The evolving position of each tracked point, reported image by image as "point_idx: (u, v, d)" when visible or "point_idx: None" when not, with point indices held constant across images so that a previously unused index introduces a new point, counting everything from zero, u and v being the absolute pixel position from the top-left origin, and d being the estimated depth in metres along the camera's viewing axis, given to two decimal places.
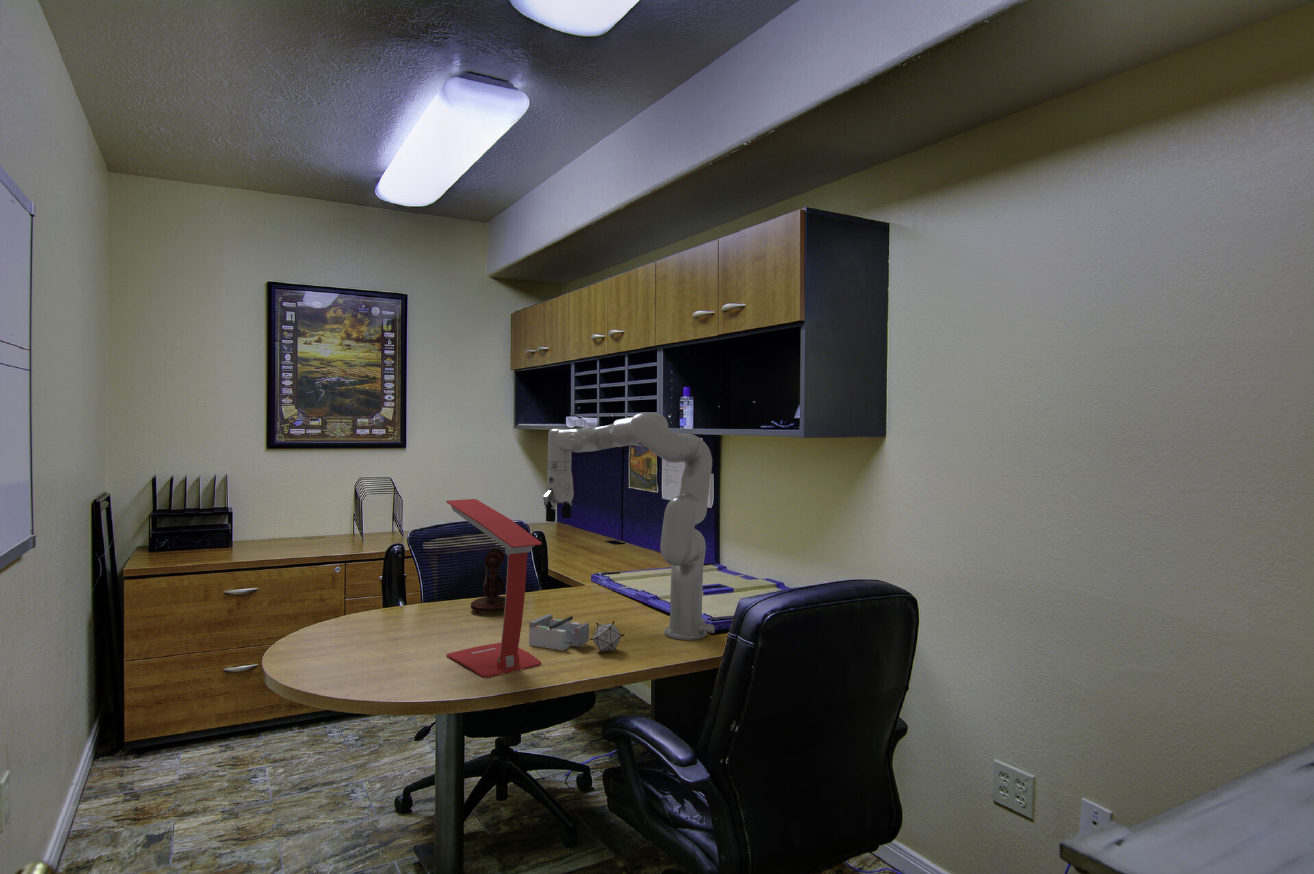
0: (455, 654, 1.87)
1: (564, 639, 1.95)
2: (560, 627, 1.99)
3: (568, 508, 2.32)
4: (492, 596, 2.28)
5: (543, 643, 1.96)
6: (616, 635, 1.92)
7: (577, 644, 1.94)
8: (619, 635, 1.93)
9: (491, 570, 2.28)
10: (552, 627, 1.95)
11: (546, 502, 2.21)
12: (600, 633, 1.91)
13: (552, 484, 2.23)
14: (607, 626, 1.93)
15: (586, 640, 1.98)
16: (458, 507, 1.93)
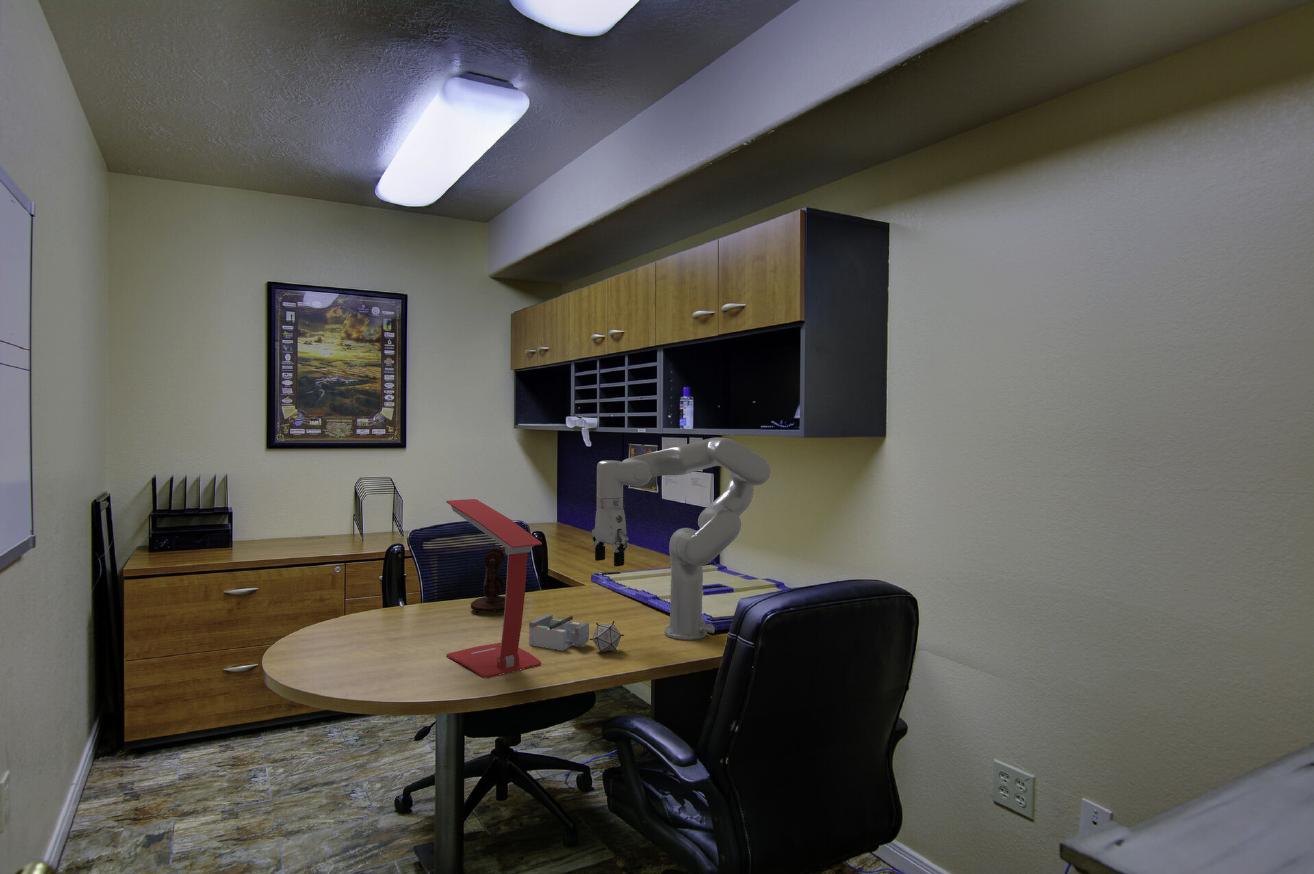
0: (455, 654, 1.87)
1: (564, 639, 1.95)
2: (560, 627, 1.99)
3: (603, 549, 2.07)
4: (492, 596, 2.28)
5: (543, 643, 1.96)
6: (616, 635, 1.92)
7: (577, 644, 1.94)
8: (619, 635, 1.93)
9: (491, 570, 2.28)
10: (552, 627, 1.95)
11: (625, 544, 1.97)
12: (600, 633, 1.91)
13: (620, 523, 1.99)
14: (607, 626, 1.93)
15: (586, 640, 1.98)
16: (458, 507, 1.93)
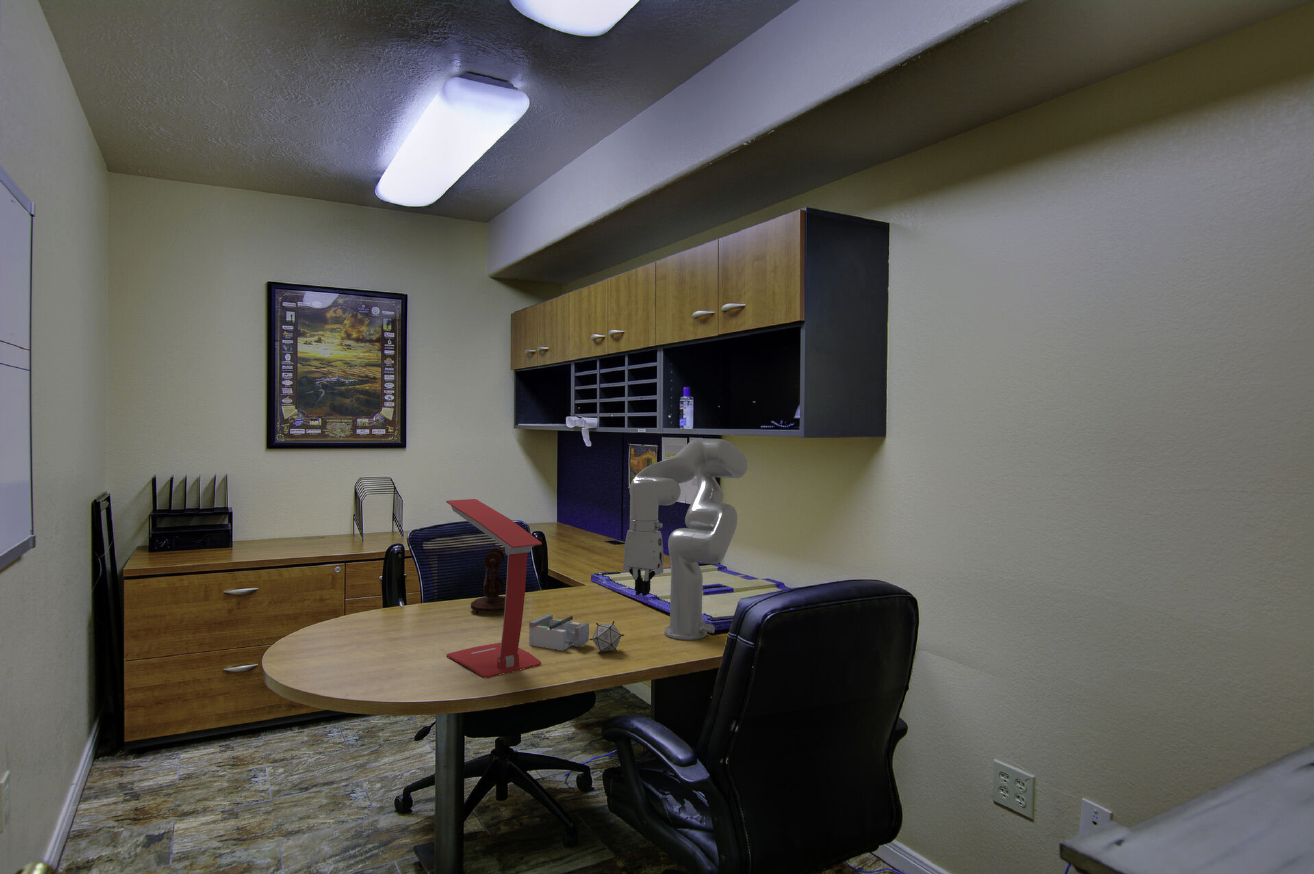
0: (455, 654, 1.87)
1: (564, 639, 1.95)
2: (560, 627, 1.99)
3: (642, 581, 1.90)
4: (492, 596, 2.28)
5: (543, 643, 1.96)
6: (616, 635, 1.92)
7: (577, 644, 1.94)
8: (619, 635, 1.93)
9: (491, 570, 2.28)
10: (552, 627, 1.95)
11: None
12: (600, 633, 1.91)
13: (661, 547, 1.88)
14: (607, 626, 1.93)
15: (586, 640, 1.98)
16: (458, 507, 1.93)
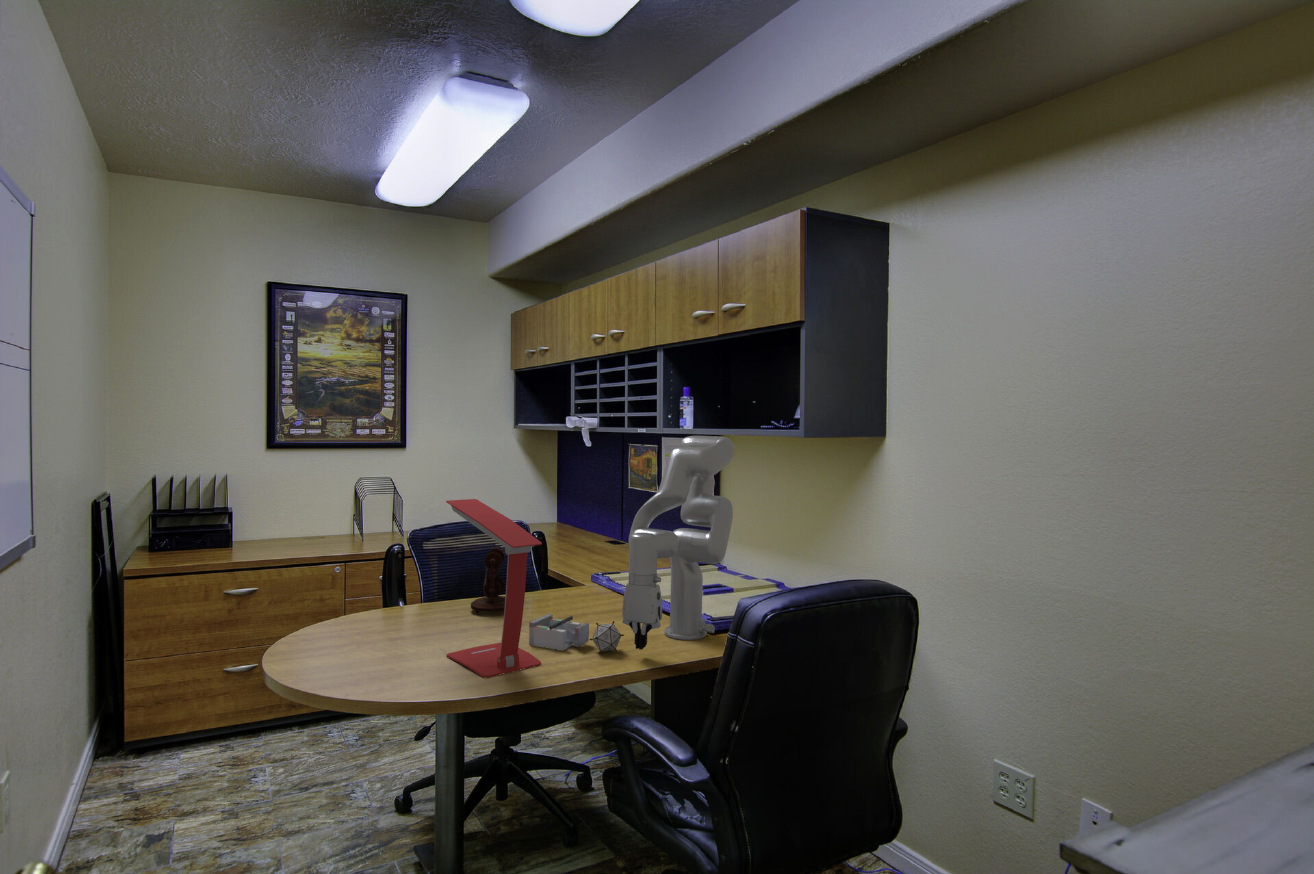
0: (455, 654, 1.87)
1: (564, 639, 1.95)
2: (560, 627, 1.99)
3: None
4: (492, 596, 2.28)
5: (543, 643, 1.96)
6: (616, 635, 1.92)
7: (577, 644, 1.94)
8: (619, 635, 1.93)
9: (491, 570, 2.28)
10: (552, 627, 1.95)
11: None
12: (600, 633, 1.91)
13: (659, 601, 1.88)
14: (607, 626, 1.93)
15: (586, 640, 1.98)
16: (458, 507, 1.93)
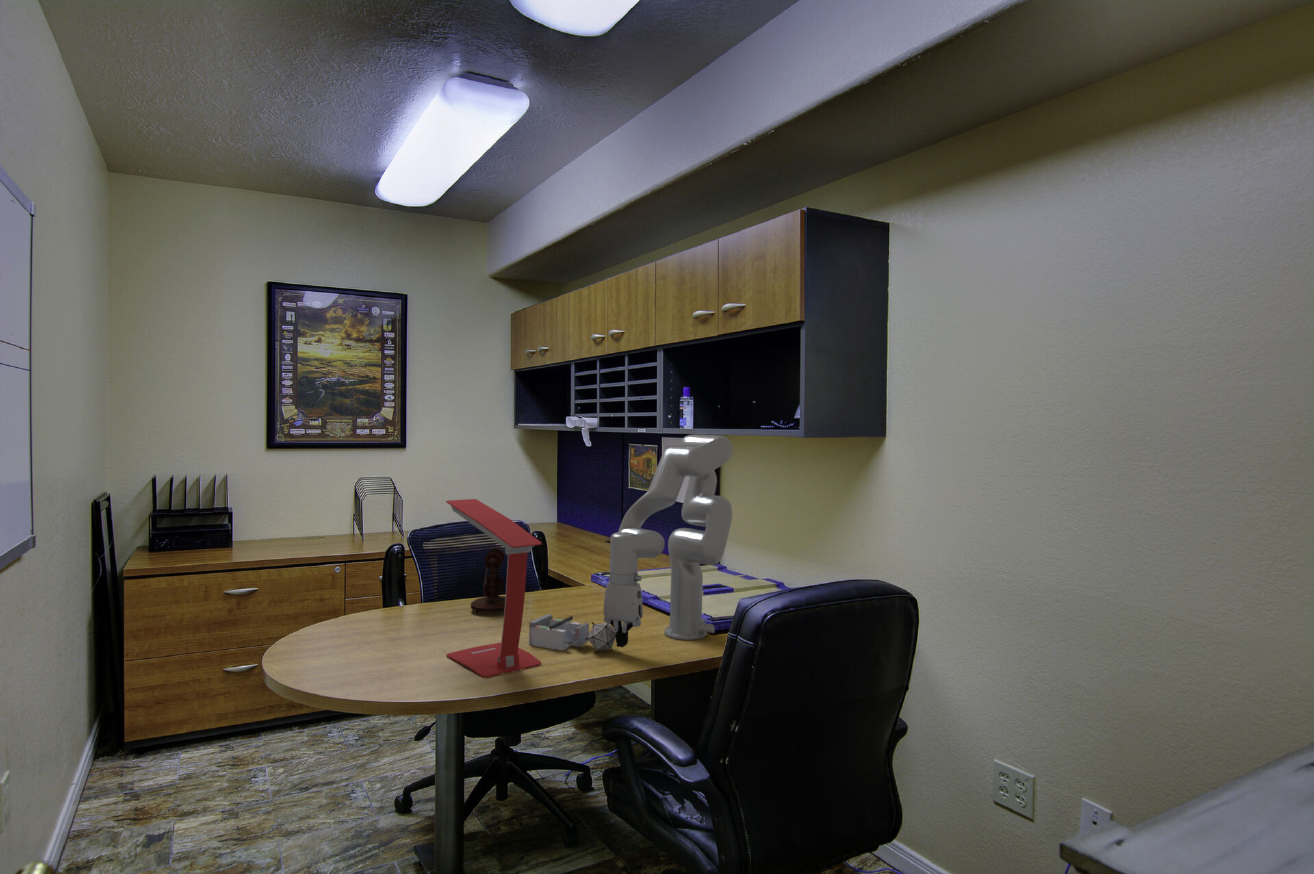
0: (455, 654, 1.87)
1: (564, 639, 1.95)
2: (560, 627, 1.99)
3: None
4: (492, 596, 2.28)
5: (543, 643, 1.96)
6: (612, 634, 1.93)
7: (577, 644, 1.94)
8: (615, 634, 1.94)
9: (491, 570, 2.28)
10: (552, 627, 1.95)
11: None
12: (596, 632, 1.92)
13: (640, 599, 1.90)
14: (603, 625, 1.93)
15: (586, 640, 1.98)
16: (458, 507, 1.93)
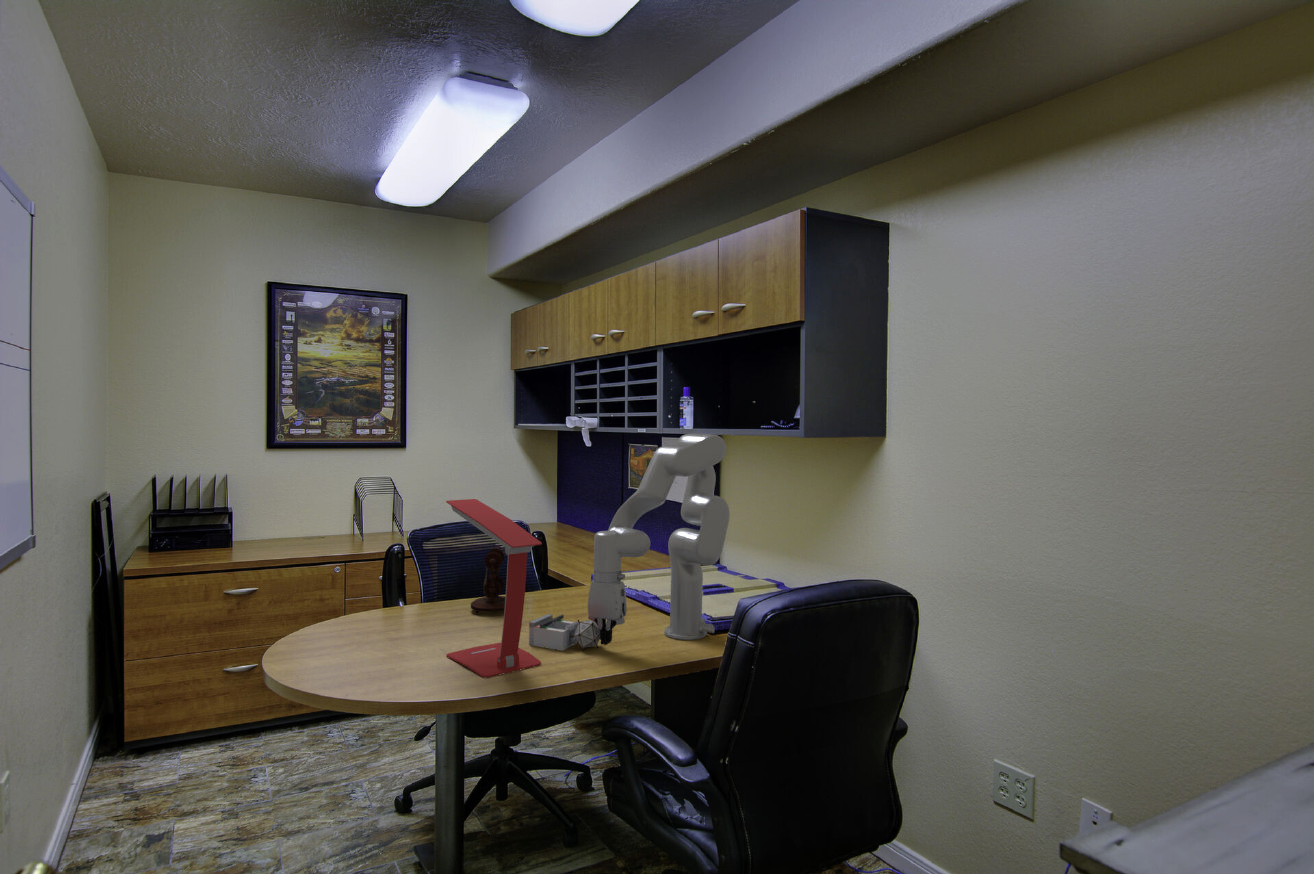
0: (455, 654, 1.87)
1: (564, 639, 1.95)
2: (551, 626, 2.01)
3: None
4: (492, 596, 2.28)
5: (543, 643, 1.96)
6: (598, 631, 1.95)
7: (567, 642, 1.95)
8: None
9: (491, 570, 2.28)
10: (542, 625, 1.96)
11: None
12: (582, 630, 1.94)
13: (623, 597, 1.92)
14: (589, 623, 1.96)
15: None
16: (458, 507, 1.93)
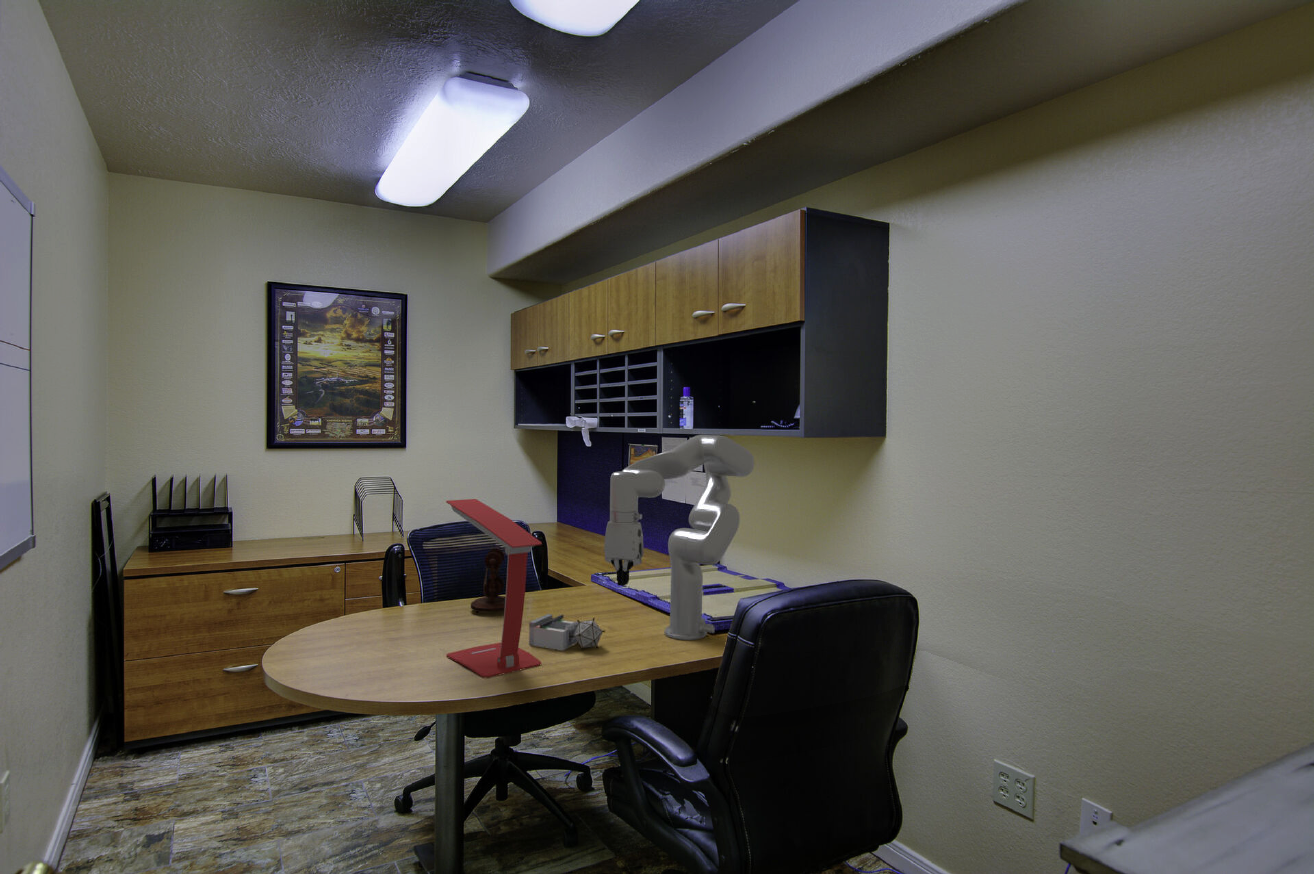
0: (455, 654, 1.87)
1: (564, 639, 1.95)
2: (551, 626, 2.01)
3: None
4: (492, 596, 2.28)
5: (543, 643, 1.96)
6: (597, 631, 1.95)
7: (567, 642, 1.95)
8: (600, 631, 1.96)
9: (491, 570, 2.28)
10: (542, 625, 1.96)
11: None
12: (582, 630, 1.94)
13: (640, 538, 1.90)
14: (589, 623, 1.96)
15: None
16: (458, 507, 1.93)
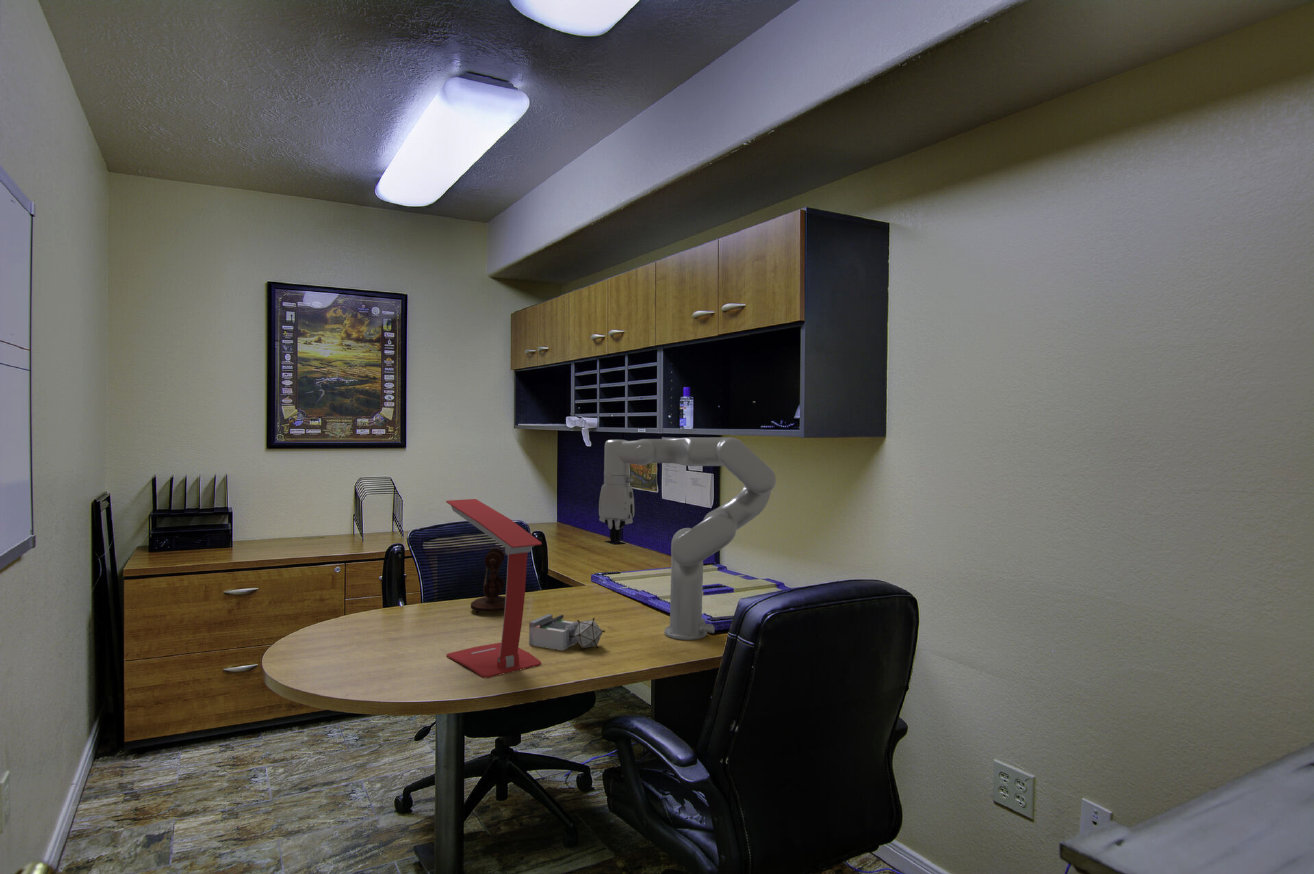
0: (455, 654, 1.87)
1: (564, 639, 1.95)
2: (551, 626, 2.01)
3: None
4: (492, 596, 2.28)
5: (543, 643, 1.96)
6: (597, 631, 1.95)
7: (567, 642, 1.95)
8: (600, 631, 1.96)
9: (491, 570, 2.28)
10: (542, 625, 1.96)
11: None
12: (582, 630, 1.94)
13: (631, 499, 2.10)
14: (589, 623, 1.96)
15: None
16: (458, 507, 1.93)
